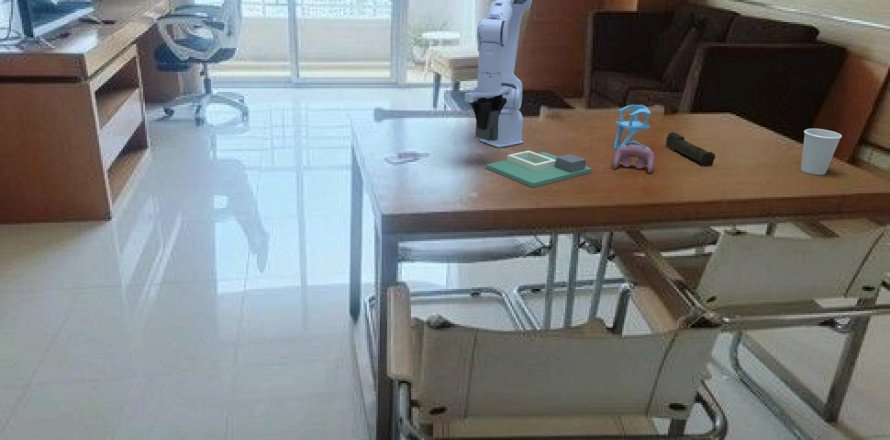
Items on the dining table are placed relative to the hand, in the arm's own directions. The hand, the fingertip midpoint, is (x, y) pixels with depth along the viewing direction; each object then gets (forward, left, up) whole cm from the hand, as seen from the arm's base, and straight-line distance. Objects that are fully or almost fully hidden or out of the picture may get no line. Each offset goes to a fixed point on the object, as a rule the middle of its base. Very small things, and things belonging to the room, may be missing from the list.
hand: (486, 127), depth 163 cm
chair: (-42, +12, -9) cm, 45 cm away
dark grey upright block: (0, 0, -2) cm, 2 cm away
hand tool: (-50, +24, -9) cm, 56 cm away
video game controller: (-28, +24, -9) cm, 38 cm away
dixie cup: (-67, +50, -9) cm, 84 cm away
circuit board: (-7, +12, -9) cm, 16 cm away
